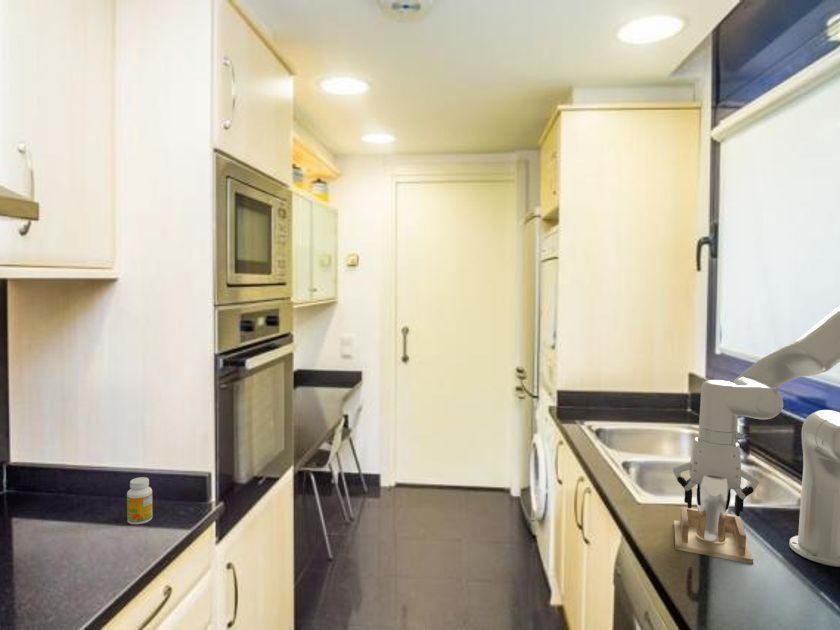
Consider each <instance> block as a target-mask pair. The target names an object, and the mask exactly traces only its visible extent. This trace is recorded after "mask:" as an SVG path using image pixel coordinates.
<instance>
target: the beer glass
mask: <svg viewBox="0 0 840 630" xmlns="http://www.w3.org/2000/svg"><path fill="white" fill-rule="evenodd" d="M695 486H696V488H695V492H696V493H695V495H696V496H695V498H696V506H697V509H698V515H699V522H698V527H697V531H696V536H697V538H698V539H700V540H702V541H704V542H707V543H711V544H723V543H725V542H726V536H725V520H726V516H727V514H729V513H728V512H729V509H730V504H731V499H732V498H731V497H732V489H729V488H728V484H727V479H726V478H724V479H720V478H712V477H708V476H704V477H703V480H702V483H701V484H700V485H699V484H696V485H695Z"/></svg>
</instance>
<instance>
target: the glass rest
mask: <svg viewBox="0 0 840 630" xmlns="http://www.w3.org/2000/svg"><path fill="white" fill-rule="evenodd" d="M680 507H681V508H680V519H679V520H676V519H674V521H673V530H674V547H675V548H674V549H675V550H677V551H682V552H687V553H693V554H698V555H699V554H700V555H703V556H709V557H715V558H720V559H725V560H731V561H735V562H741V563H746V564H751V565H753V564H754V557H753V554H752V551H751V548H750V545H749V542H748V538H747V534H746V531H745V527H744V524H743V522H742V518H741V516H737V515H735V514H733V513H731V514H730V513H727V516H726V520H725V536H726V542H725V543H723V544H711V543H707V542H704V541H702V540H700V539H698V538H697V536H696V531H697V527H698V522H699V515H698V508H693V507H691V508H688V506H683V505H682V506H680Z"/></svg>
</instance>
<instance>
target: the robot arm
mask: <svg viewBox="0 0 840 630" xmlns="http://www.w3.org/2000/svg"><path fill="white" fill-rule="evenodd" d="M838 363H840V305H839V306H838V307H836V308H835V309H834V310H833V311H831V312H830V313H829V314H827V315H826V316H825V317H824V318H822V319H820V321H818V323H816V324H815V325H814V326H813V327H811V328H810V329H809V330H807V331H806V332H805V333H804V334H803V335H801V336H800V337H799V338H798V339H795V341H793V342H792V343H790V344H787V345H786V346H783V347H781V348H779V349H778V350H776V351H774V352H772V353H769V354H767V355H766V356H763V357H762V358H761V359H759V360H757V361H756V362H755V363H754V364H752V365H750V366H749V367H748V368H747V369H745V370H744V371H743V372H742V373H741V374H740V375H738V376H737V377H736V378H735V379H734V380H733V382H732V381H729V380H721V379H708V380H705V381H703V382H702V385H701V388H700V389H701V390H700V402H699V403H700V406H699V420H698V423H699V424H698V437H694V439H693V443H692V447H691V453H690V454H691V455H690V461H689V462H686V463H684V464H681V465H677V466H674V467H672V472H673V474H674V476H675V478H676V481H677V482H678V484H680V486H682V488H683V489H684V503H686V504H687V507H688V508H692V504H693V488H694V487H695V486H697V484H699V485H700V484H701V483H702V480H703V477H704V476H708V477H712V478H720V479H724V478H726V479H727V484H728V488H729V489H731V490H733V491H734V492H735V493H736V494H735V496H734V509H733V511H734V515H737V516H740V514H741V513H743V512H744V503H745V502H744V500H745V499H746V498H747V497H748V496H750V495H751V494H752V493H754V491H755V489H756V488H757V487H758V486H759V485H760V480H759V478H757V477H755V476H753V475H752V474H751V473H748V472H747V471H745V470H743V469H742V459H741V458H742V457H741V448H740V443H739V442H738V441H741V440H745V434H744V433H741V432H739V431H738V417H741V416H742V417H746V418H751V419H757V420H769V419H773V418H775V417H777V416H778V415H779V414H780V413H781V412H782V410H783V408H784V400H783V397H782V395H781V393H780V392H778V391H777V390H776V389H778V388H779V387H780V386H783V385H784V384H786V383H788V382H790V381H793V380H795V379H800V378H803V377H809V376H816V375H819V374H822V373H826V372H828V371H830V370H831V369H832V368H834V367H835V366H837V365H838ZM801 445H802V455H803V456H802V457H803V460H802V462H803V463H802V464H803V465H802V467H803V468H802V481H801V490H800V491H801V492H800V506H799V520H798V521H799V522H798V532H797V533H798V534H797V535H795V536H792V537H791V538H790V539H789V542H788V543H789V548H791V550H792V551H794V553H796V554H797V555H799V556H801V557H803V558H805V559H807V560H810V561H812V562H816V563H819V564H821V565H826V566H830V567H837V568H840V412H839V411H836V410H831V409H822V410H820V409H819V410H817V411H814V412H812V413H811V414H810V415H808V416H807V417H806V418H805V420H804V422H803V423H802V427H801ZM687 471H689V476H690V477H689V478H688V479H685V477H684V476H682V473H683V472H687ZM742 478H743V479H744V480H746V481H748V482H749V483H748V485H746V486H745V487H743V488H742V486H741V483H742ZM740 517H741V516H740Z"/></svg>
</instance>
